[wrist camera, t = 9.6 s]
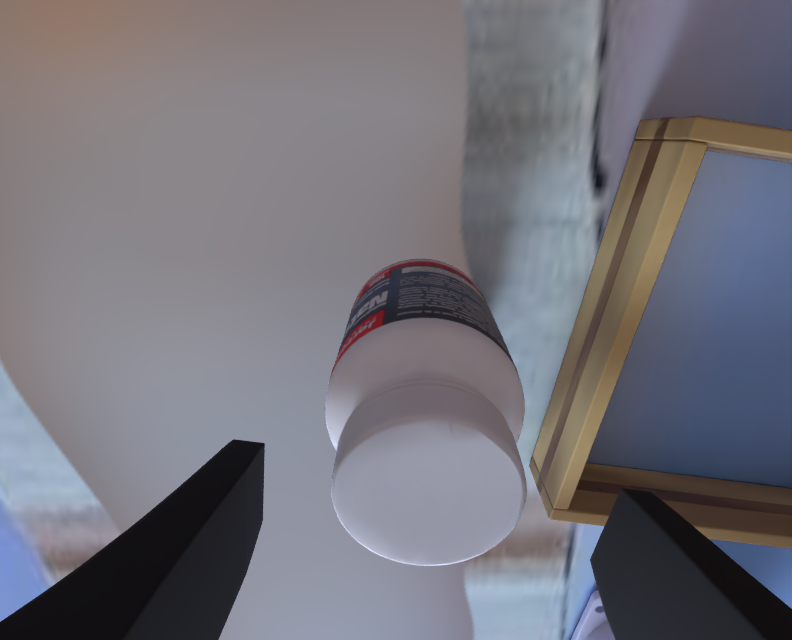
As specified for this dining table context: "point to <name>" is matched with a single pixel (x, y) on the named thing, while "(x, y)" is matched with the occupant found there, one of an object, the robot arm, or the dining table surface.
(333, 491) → the pill bottle
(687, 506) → the picture frame
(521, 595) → the dining table surface
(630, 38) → the dining table surface
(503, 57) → the dining table surface
